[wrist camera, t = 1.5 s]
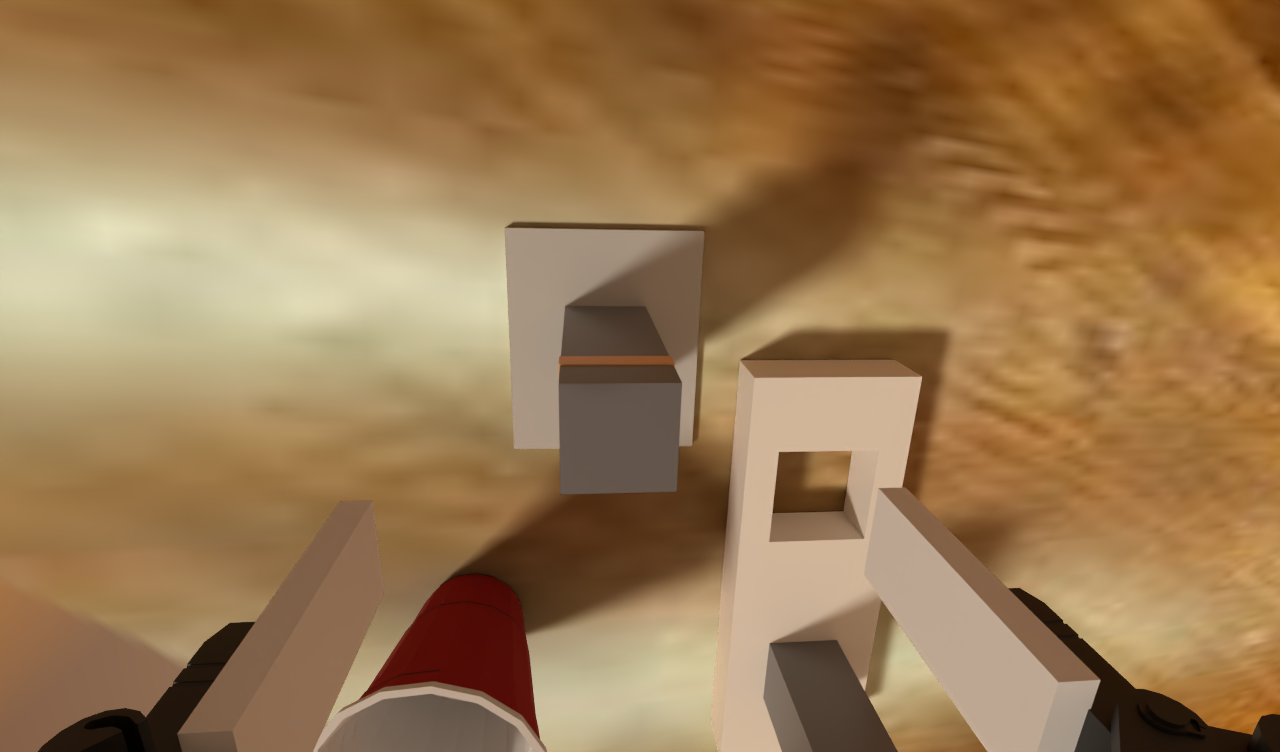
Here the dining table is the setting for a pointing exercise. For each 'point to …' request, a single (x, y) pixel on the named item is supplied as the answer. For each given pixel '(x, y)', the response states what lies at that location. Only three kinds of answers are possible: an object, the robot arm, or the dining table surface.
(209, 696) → the robot arm
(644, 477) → the plug
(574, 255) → the white flat slab
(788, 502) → the dining table surface
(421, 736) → the plastic cup
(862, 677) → the socket stand
